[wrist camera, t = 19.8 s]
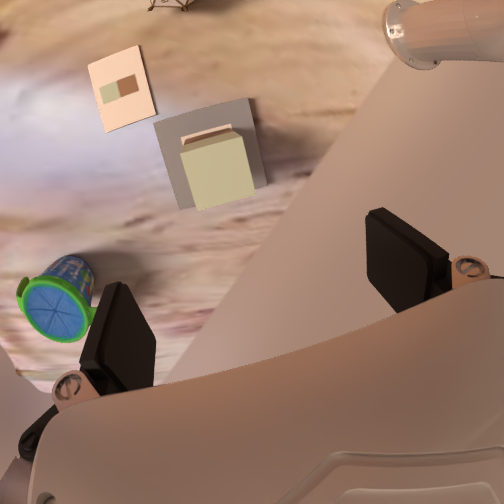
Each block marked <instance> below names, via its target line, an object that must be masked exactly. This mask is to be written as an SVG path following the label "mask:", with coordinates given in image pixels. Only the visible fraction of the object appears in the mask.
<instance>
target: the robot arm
mask: <svg viewBox="0 0 504 504" xmlns="http://www.w3.org/2000/svg"><path fill="white" fill-rule="evenodd" d="M383 27H384V32H385V35H386V38H387V41H388V43H389V45H390V47H391V48H392V50H393V51H394V53H395V54H396V55H397V56H398V57H399V59H401V60H402V61H403V62H404V63H405V64H407V65H408V66H410V67H412V68H415V69H418V70H430V69H433V68H435V67H436V66H437V65H439V64H440V62H441V60H474V61H493V62H494V61H495V62H504V0H433V1H429V2H425V3H421V4H419V3H417V2H415V1H412V0H397V1H395V2H393V3H391V4H390V5H389V6H388V7H387V8H386V10H385V13H384V18H383ZM365 224H366V251H367V277H368V279H369V281H370V282H371V284H372V285H373V286H374V287H375V288H376V289H377V290H378V292H379V293H380V294H381V295H382V296H383V297H384V299H385V300H386V301H387V302H388V303H389V305H391V307H392V308H393V309H394V310H395V312H396V313H397V314H395V315H392V316H390V317H387V318H385V319H382V320H380V321H377V322H375V323H372V324H370V325H367V326H365V327H362V328H359V329H357V330H354V331H351V332H349V333H346V334H343V335H341V336H338V337H335V338H332V339H329V340H327V341H324V342H321V343H318V344H315V345H312V346H309V347H306V348H303V349H300V350H296V351H293V352H290V353H287V354H284V355H280V356H277V357H274V358H270V359H267V360H263V361H260V362H256V363H253V364H249V365H245V366H241V367H238V368H234V369H230V370H226V371H222V372H218V373H214V374H209V375H205V376H201V377H197V378H192V379H188V380H183V381H178V382H174V383H168V384H163V385H158V386H153V381H154V366H155V353H156V339H155V336H154V334H153V332H152V330H151V329H150V327H149V325H148V323H147V322H146V320H145V318H144V316H143V314H142V312H141V311H140V309H139V307H138V305H137V303H136V301H135V299H134V297H133V295H132V293H131V291H130V289H129V288H128V286H127V285H126V284H122V283H121V282H116V283H113V284H109V285H106V287H105V289H104V291H103V294H102V297H101V299H100V302H99V305H98V307H97V310H96V313H95V315H94V318H93V321H92V324H91V327H90V330H89V333H88V336H87V339H86V342H85V345H84V348H83V351H82V354H81V357H80V361H79V363H80V364H81V367H80V370H79V371H78V370H72V371H69V372H66V373H65V374H63V375H62V376H61V377H60V378H59V379H58V380H57V381H56V382H55V384H54V386H53V389H52V398H53V401H54V403H55V404H54V405H53V406H52V407H51V408H50V409H49V410H48V411H46V412H45V413H44V414H43V415H42V416H41V417H40V418H39V419H38V420H37V421H36V422H34V424H32V425H31V426H30V427H29V428H28V429H27V430H26V431H25V432H24V433H23V434H22V436H21V438H20V440H19V444H18V450H19V454H20V458H17V457H16V456H15V458H14V459H13V461H12V463H11V464H10V466H9V467H8V469H7V471H6V472H5V474H4V476H3V477H2V479H1V480H0V504H504V277H500V276H493V275H490V273H489V268H488V266H487V265H486V264H485V262H483V261H482V260H481V259H479V258H476V257H473V256H459V257H457V258H455V259H454V260H453V261H452V262H451V261H450V260H448V259H449V253H448V252H446V251H445V250H444V249H442V248H441V247H440V246H438V245H437V244H436V243H434V242H433V241H431V240H430V239H429V238H428V237H426V236H425V235H423V234H422V233H421V232H419V231H418V230H416V229H415V228H413V227H412V226H411V225H409V224H408V223H406V222H405V221H403V220H402V219H400V218H399V217H397V216H396V215H394V214H393V213H391V212H390V211H388V210H387V209H385V208H383V207H382V208H378V209H374V210H371V211H369V213H368V215H367V216H366V218H365Z"/></svg>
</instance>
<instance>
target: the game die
mask: <svg viewBox="0 0 504 504" xmlns="http://www.w3.org/2000/svg"><path fill="white" fill-rule="evenodd" d="M150 1H151V4H152V6H151V7H150V8H148V11H152V9H153V8H154V7H181V9H182V11H184V12H187V11H188V7H187V6H188V5H190V4H191V3H193V2H195V1H196V0H150Z"/></svg>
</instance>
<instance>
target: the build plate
mask: <svg viewBox="0 0 504 504" xmlns="http://www.w3.org/2000/svg"><path fill="white" fill-rule="evenodd" d="M153 124H154V128H155V131H156V135H157V138H158V142H159V145H160V148H161V152H162V155H163V158H164V162H165V165H166V168H167V171H168V175H169V178H170V181H171V184H172V187H173V190H174V194H175V197H176V200H177V203H178V206H179V209H180V210H182V209H185V208H188V207H192V206H195V202H194V199H193V195H192V192H191V189H190V186H189V182H188V179H187V176H186V173H185V169H184V166H183V163H182V159H181V156H180V152H181V149H182V146H183V145H184V142H185V139H188V138H192V137H195V136H199V135H203V134H206V133H210V132H214V131H218V130H222V129H226V128H230V129H231V130H233V131H234V132H236V133H237V134H239V135H240V136H242V138H243V142H244V147H245V151H246V155H247V159H248V163H249V167H250V172H251V176H252V180H253V184H254V189H256V188H260V187H264V186H267V181H266V176H265V172H264V167H263V162H262V158H261V153H260V149H259V144H258V140H257V135H256V131H255V127H254V122H253V118H252V114H251V109H250V105H249V101H248V98H243V99H239V100H235V101H230V102H226V103H222V104H218V105H214V106H210V107H206V108H202V109H199V110H195V111H192V112H188V113H185V114H181V115H178V116H175V117H171V118H168V119H165V120H162V121H159V122H156V123H153Z"/></svg>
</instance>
